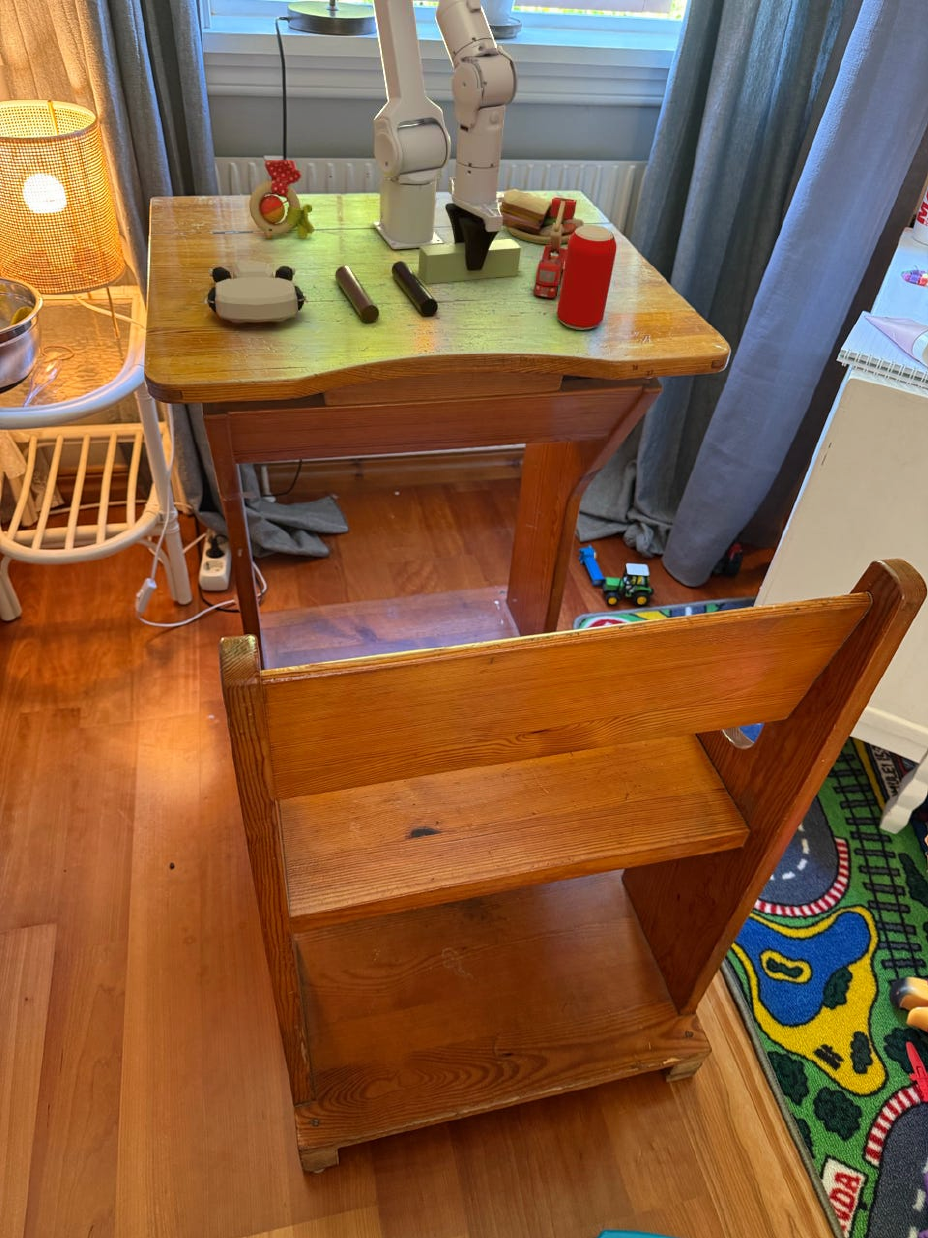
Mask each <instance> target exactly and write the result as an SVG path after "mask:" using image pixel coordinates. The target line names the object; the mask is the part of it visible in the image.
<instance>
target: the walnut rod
mask: <svg viewBox="0 0 928 1238" xmlns="http://www.w3.org/2000/svg"><path fill="white" fill-rule="evenodd" d="M334 273H335V274H334V278H335V280H336V281H337V284H338V285H339V287H340V288H341V289H342V291H343V292H344V294H345V295H346V297H347V299H348V300H349V301H350V303H351V305H352V306H353V308H354V309H355V311H356V312H357V314H358V315H359V317H360V318H361V320H362V321H363V322H364V323H367V324H372V323H375V322H376V321H377V320H378V318H379V317H380V310H379V308H378V307H377V305H376V304H375V302H374V301H373V299H372V298H371V297H370V295H369V294H368V292H367V290H366V289H365V288H364V286H363V284H362V283H361V282H360V281H359V279H358V278H357V276H356V275H355V273H354V272H353V270H352V269H351V267H349V266H347V265H341V266H339V267H338V268H337V269H336V270H335V272H334Z"/></svg>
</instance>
